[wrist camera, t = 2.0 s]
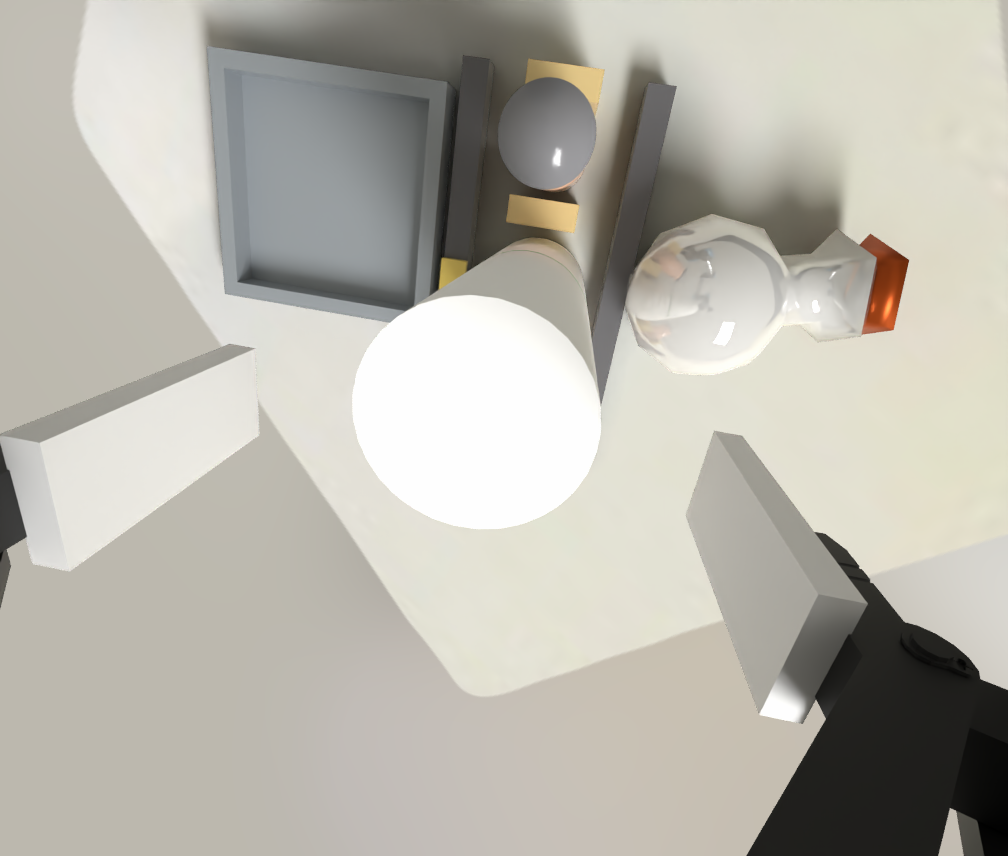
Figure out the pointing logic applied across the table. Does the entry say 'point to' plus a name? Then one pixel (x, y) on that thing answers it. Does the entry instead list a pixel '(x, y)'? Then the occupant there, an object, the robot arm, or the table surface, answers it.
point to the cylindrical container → (485, 392)
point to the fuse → (547, 134)
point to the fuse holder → (556, 213)
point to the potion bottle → (754, 293)
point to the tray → (329, 182)
